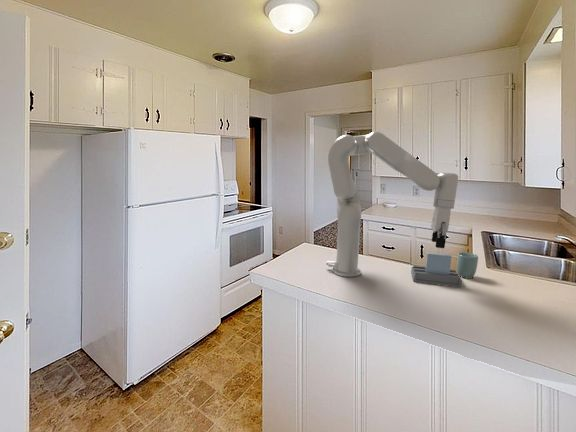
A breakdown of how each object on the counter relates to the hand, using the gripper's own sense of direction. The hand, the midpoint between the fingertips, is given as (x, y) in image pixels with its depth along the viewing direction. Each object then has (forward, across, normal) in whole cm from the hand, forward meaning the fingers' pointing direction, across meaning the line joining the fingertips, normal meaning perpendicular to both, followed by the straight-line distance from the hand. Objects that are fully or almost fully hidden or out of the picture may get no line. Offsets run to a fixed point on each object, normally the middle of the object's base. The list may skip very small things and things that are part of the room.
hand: (437, 244), depth 129 cm
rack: (+16, -2, +1) cm, 16 cm away
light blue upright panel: (+15, 0, +2) cm, 15 cm away
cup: (+16, -12, +15) cm, 25 cm away
